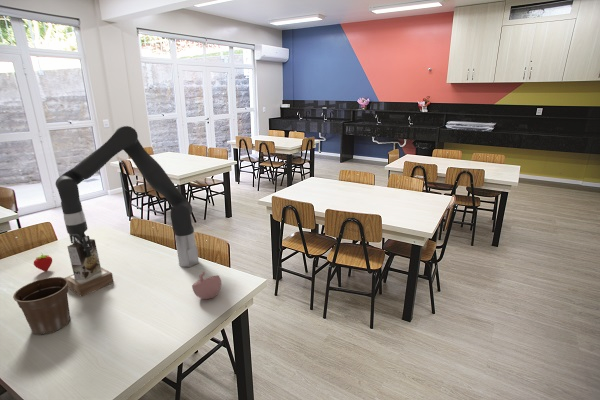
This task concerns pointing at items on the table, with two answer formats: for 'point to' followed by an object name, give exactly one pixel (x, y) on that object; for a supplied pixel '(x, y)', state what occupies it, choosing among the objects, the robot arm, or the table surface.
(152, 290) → the table surface
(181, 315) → the table surface
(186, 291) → the table surface
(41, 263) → the strawberry
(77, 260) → the coffee box
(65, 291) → the plant pot
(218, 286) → the pink apple
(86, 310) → the table surface
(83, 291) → the plinth
